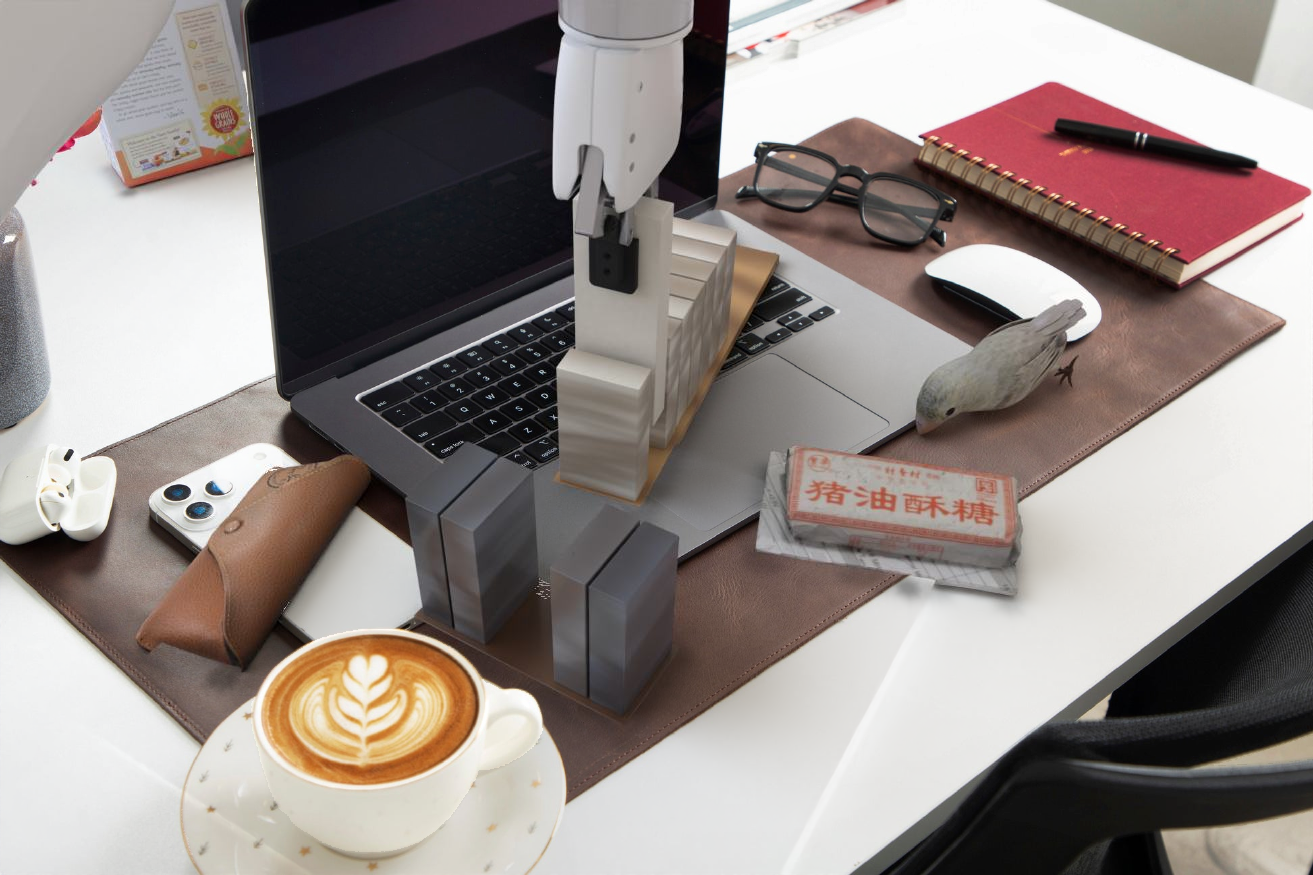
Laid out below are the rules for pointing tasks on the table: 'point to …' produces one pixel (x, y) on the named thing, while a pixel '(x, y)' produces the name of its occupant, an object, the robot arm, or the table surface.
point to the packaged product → (892, 517)
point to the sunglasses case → (256, 562)
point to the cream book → (630, 299)
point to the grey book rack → (581, 584)
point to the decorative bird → (1000, 367)
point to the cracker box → (180, 100)
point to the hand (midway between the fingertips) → (622, 274)
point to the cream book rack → (619, 394)
